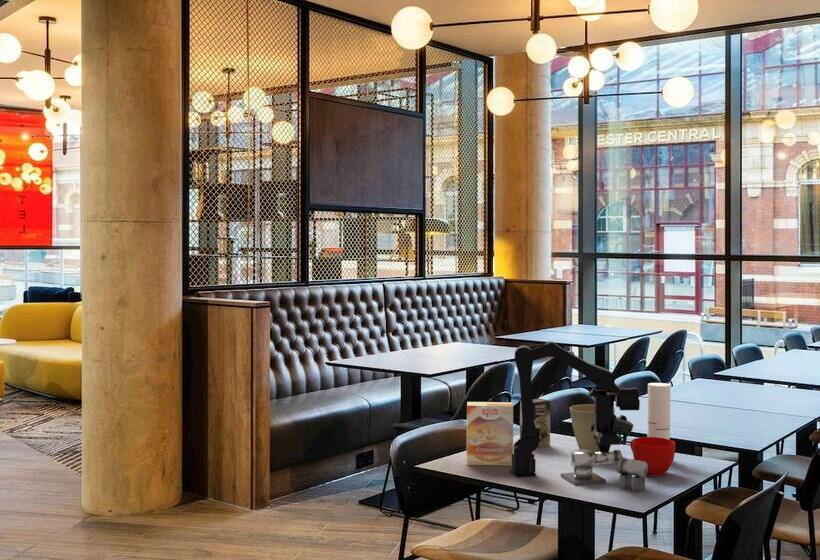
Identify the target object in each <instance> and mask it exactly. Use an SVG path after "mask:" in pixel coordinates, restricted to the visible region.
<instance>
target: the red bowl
mask: <svg viewBox="0 0 820 560" xmlns="http://www.w3.org/2000/svg"><path fill="white" fill-rule="evenodd" d="M629 443H630V444H629V446H630V449H631V452H632V457H633V460H638V461H644V462H646V463H647V465H648V471H647V474H646V476H649V475H651V476H650V477H661V476H664V475H665V474H666V473H667V471H669V470H670V468H671V467H672V465H673V463H674V459H675V455H676V454H675V453H676V442H675V441H674V440H671V439H670V440H669V439H665V438H658V437H647V436H641V437H636V438H633V439H632V440H631V441H630V442H629Z"/></svg>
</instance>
